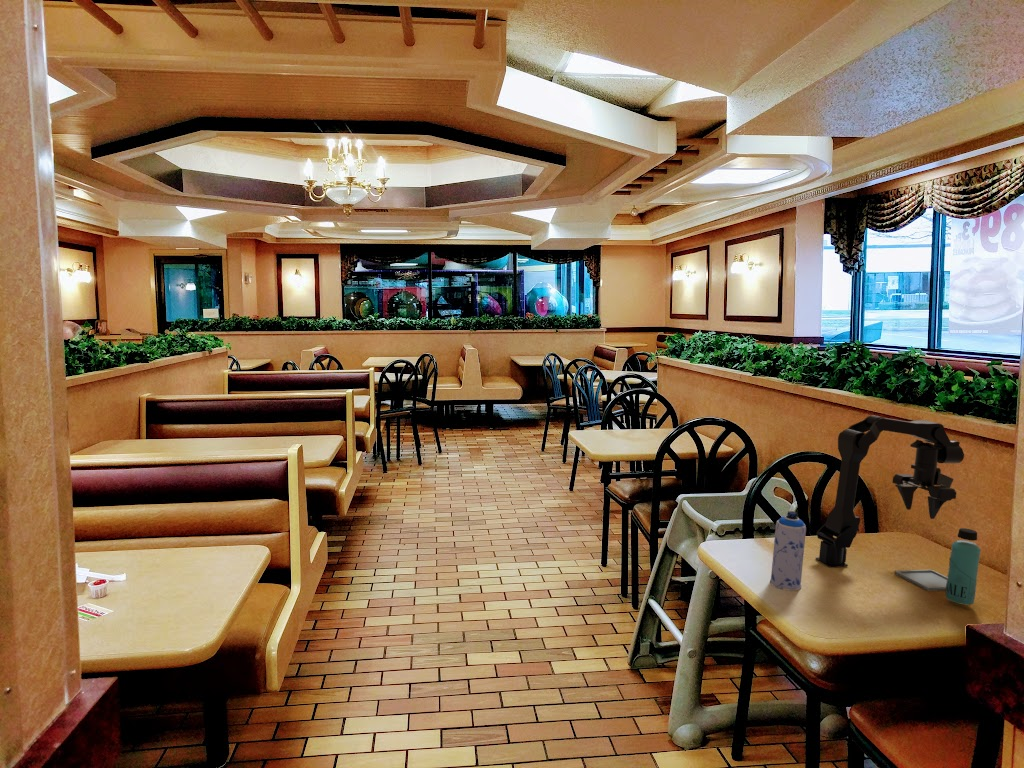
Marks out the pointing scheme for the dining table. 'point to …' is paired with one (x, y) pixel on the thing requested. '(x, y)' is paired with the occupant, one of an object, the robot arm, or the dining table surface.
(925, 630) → the dining table surface
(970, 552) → the beverage bottle
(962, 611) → the dining table surface
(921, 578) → the tray
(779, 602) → the dining table surface
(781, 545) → the aerosol can
